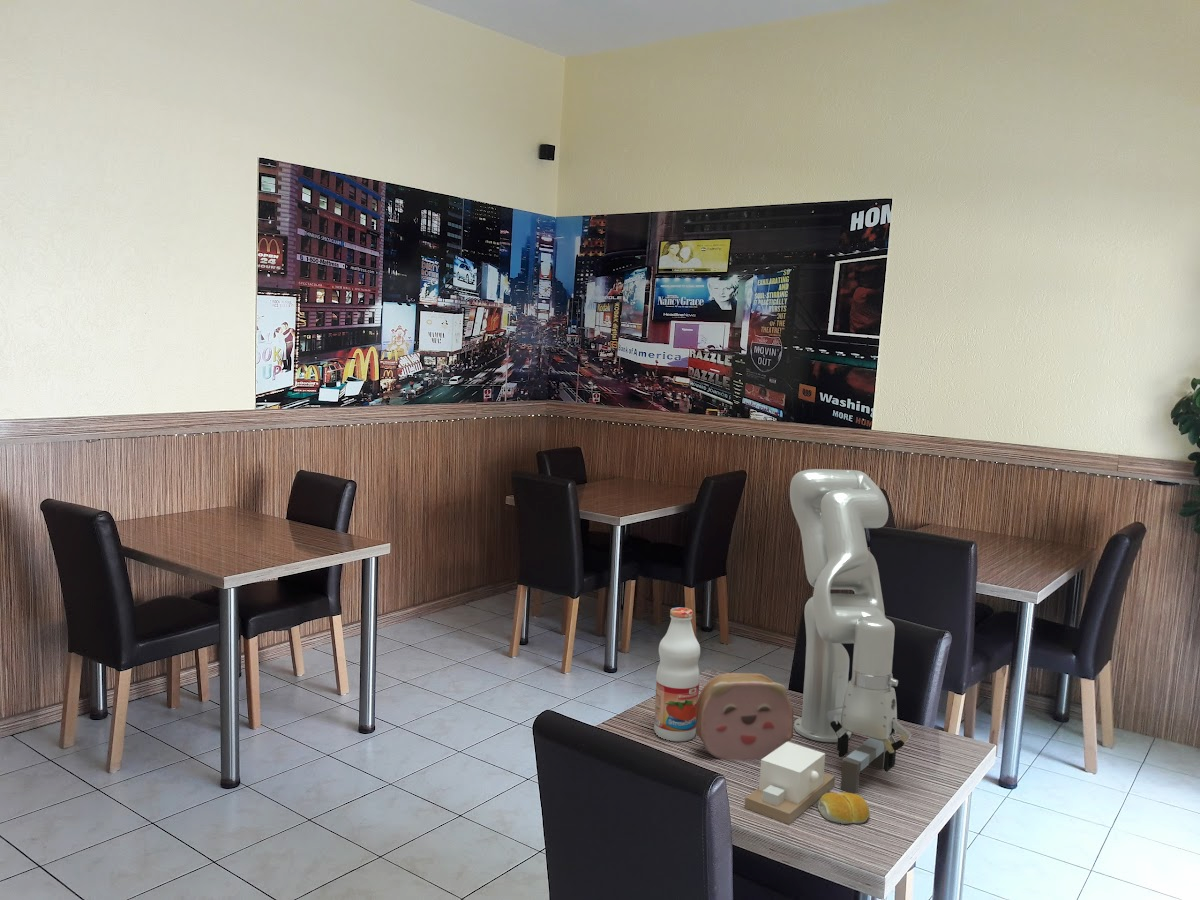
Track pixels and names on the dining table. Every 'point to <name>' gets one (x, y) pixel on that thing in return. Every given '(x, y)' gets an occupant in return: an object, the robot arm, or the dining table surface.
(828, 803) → the bread roll
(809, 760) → the white block on board
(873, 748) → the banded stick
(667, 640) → the fruit juice
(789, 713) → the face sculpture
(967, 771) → the dining table surface
